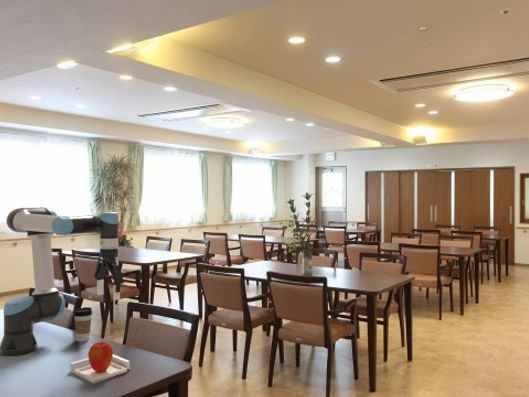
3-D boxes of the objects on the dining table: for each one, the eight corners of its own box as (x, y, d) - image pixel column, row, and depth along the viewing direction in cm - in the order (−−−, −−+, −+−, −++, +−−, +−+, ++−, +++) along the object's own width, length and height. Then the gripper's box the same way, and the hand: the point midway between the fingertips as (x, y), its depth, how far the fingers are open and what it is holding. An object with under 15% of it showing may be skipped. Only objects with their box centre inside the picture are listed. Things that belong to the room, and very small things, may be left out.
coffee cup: (95, 339, 225) (96, 308, 225) (80, 343, 217) (80, 311, 218) (84, 336, 229) (85, 306, 229) (69, 340, 222) (70, 309, 222)
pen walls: (69, 371, 182) (69, 362, 182) (107, 360, 195) (108, 352, 195) (90, 382, 172) (90, 372, 172) (129, 369, 185) (129, 360, 185)
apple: (83, 372, 179) (83, 341, 179) (102, 365, 187) (102, 336, 187) (98, 377, 174) (98, 346, 174) (117, 370, 182) (117, 340, 182)
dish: (74, 374, 179) (74, 369, 179) (107, 364, 190) (107, 360, 190) (93, 383, 170) (93, 378, 170) (126, 372, 181) (126, 368, 181)
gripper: (86, 246, 203) (85, 293, 203) (116, 251, 186) (115, 303, 186) (102, 244, 208) (101, 291, 208) (132, 250, 192) (131, 300, 192)
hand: (108, 297), depth 197 cm, fingers open, 13 cm apart
